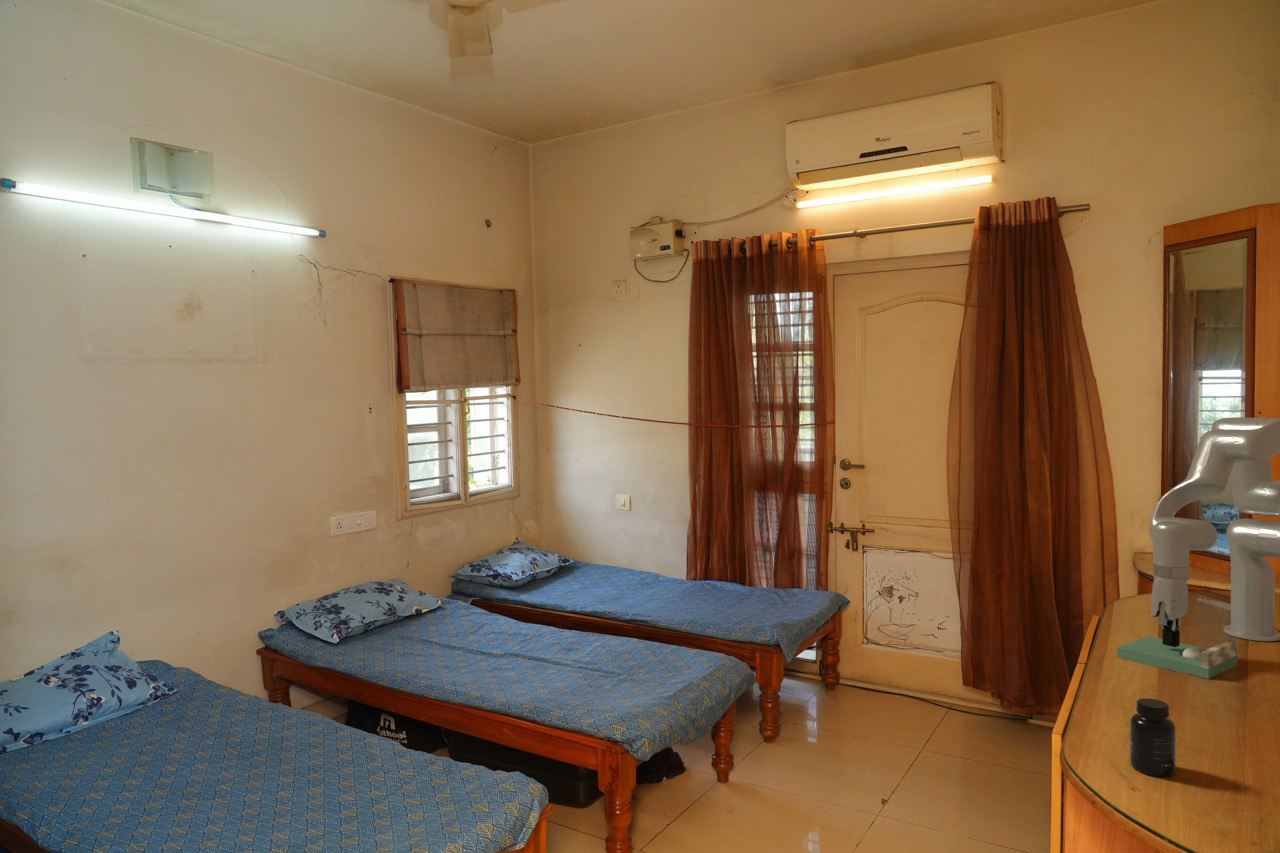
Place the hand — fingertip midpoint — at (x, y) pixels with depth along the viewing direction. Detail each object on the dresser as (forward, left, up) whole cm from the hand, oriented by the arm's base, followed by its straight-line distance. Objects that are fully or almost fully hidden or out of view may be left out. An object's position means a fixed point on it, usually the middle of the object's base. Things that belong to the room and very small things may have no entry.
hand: (1171, 645), depth 199 cm
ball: (0, +5, -2) cm, 5 cm away
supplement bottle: (+66, +25, -4) cm, 71 cm away
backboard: (0, +10, -1) cm, 11 cm away
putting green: (0, +1, -4) cm, 4 cm away
